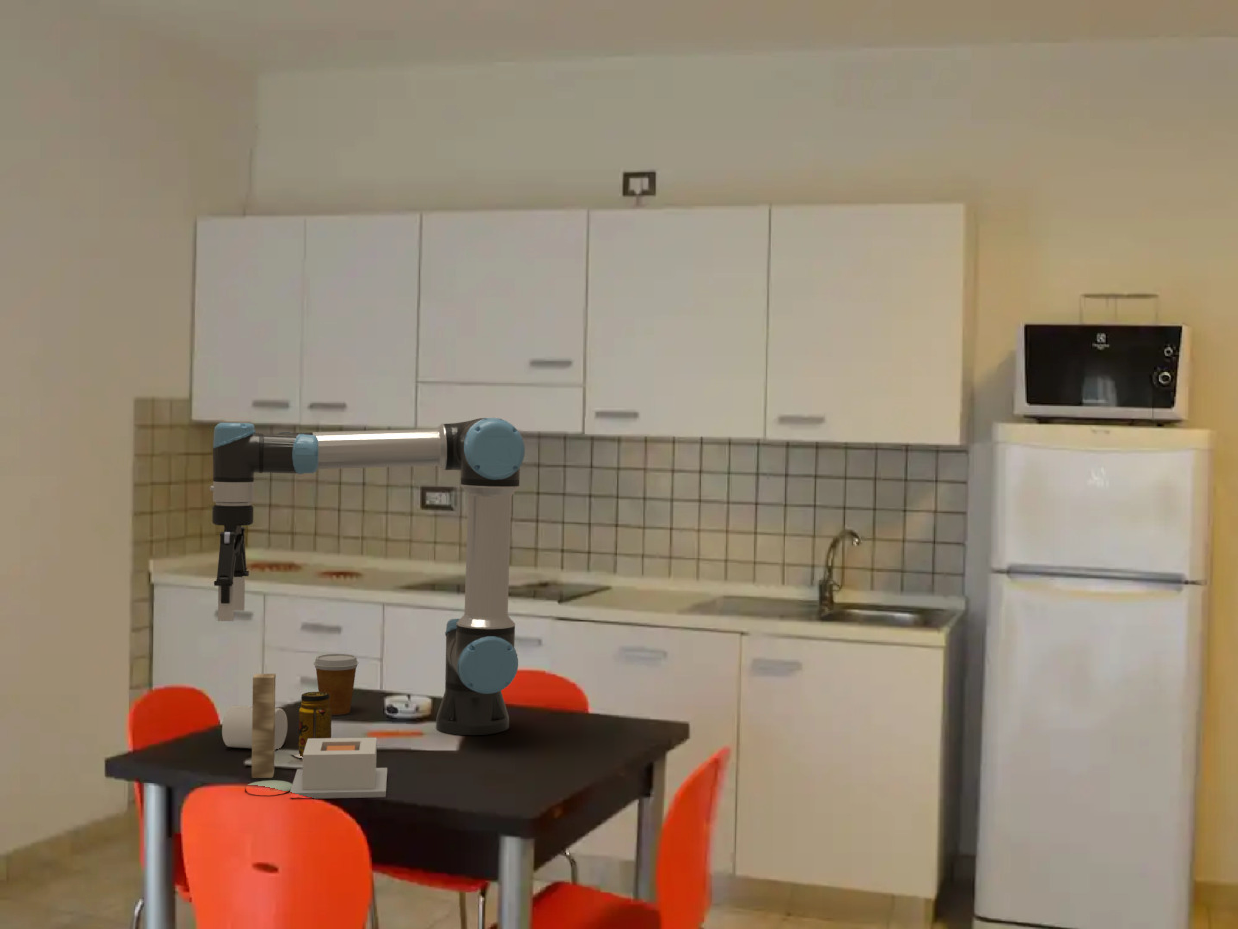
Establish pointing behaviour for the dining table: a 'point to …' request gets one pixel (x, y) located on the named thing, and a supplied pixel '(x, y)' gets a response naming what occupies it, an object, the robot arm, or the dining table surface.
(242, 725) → the mug
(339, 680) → the disposable coffee cup
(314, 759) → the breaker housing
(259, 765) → the beige wooden block
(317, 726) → the condiment
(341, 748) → the button
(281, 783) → the coaster
